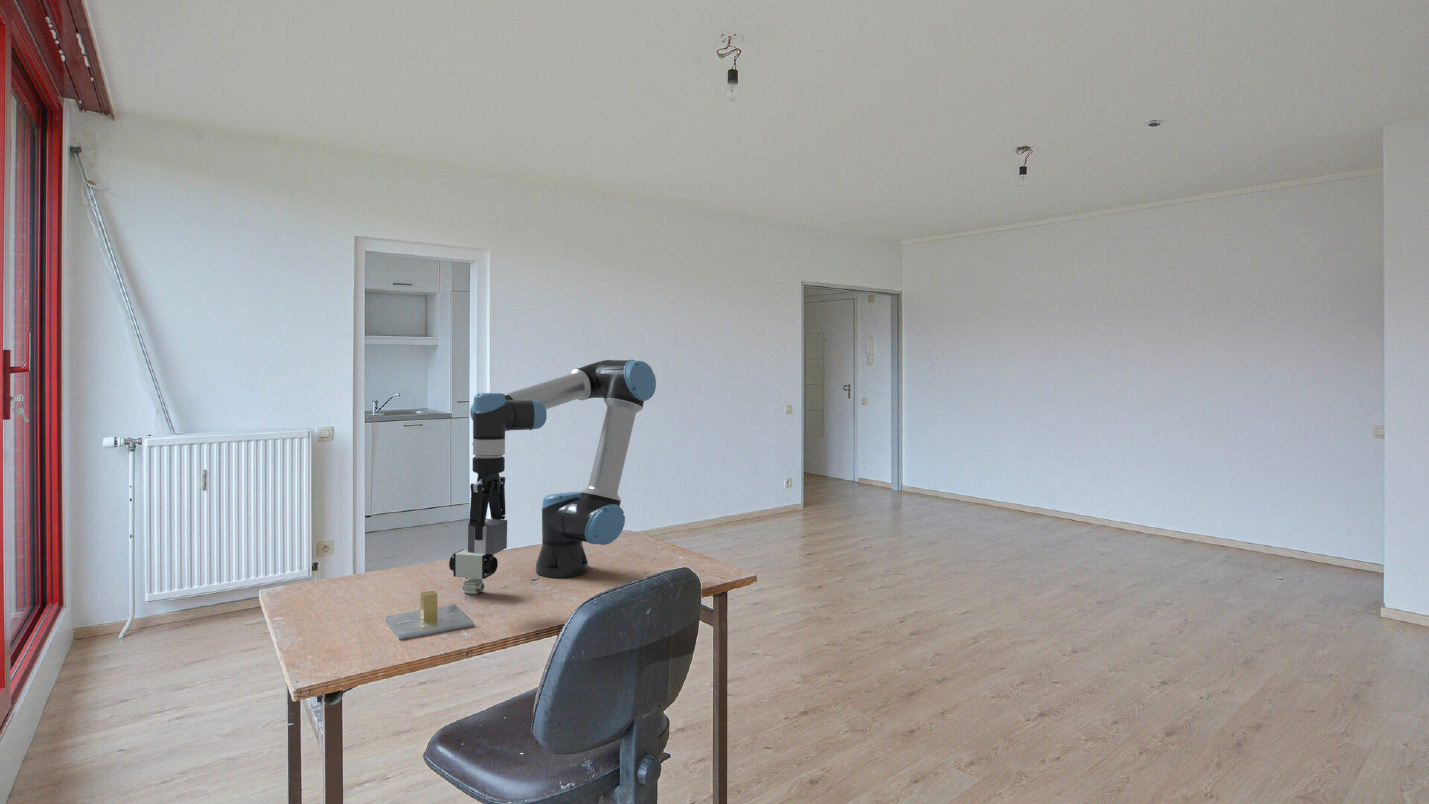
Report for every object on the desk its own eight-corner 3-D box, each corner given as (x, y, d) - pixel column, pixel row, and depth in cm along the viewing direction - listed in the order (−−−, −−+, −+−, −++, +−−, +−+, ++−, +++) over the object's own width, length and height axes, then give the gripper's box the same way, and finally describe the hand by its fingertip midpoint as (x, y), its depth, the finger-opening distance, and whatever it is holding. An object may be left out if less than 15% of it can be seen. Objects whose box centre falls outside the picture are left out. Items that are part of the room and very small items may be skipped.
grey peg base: (455, 609, 180) (455, 580, 180) (472, 626, 169) (472, 595, 168) (385, 621, 171) (385, 590, 171) (399, 639, 160) (399, 607, 159)
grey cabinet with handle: (481, 546, 183) (481, 516, 182) (506, 547, 182) (507, 517, 181) (467, 552, 176) (468, 521, 176) (494, 554, 175) (494, 522, 175)
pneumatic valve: (489, 597, 190) (489, 551, 189) (448, 593, 192) (448, 548, 192) (499, 591, 195) (499, 546, 195) (459, 587, 198) (459, 544, 197)
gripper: (493, 451, 188) (492, 539, 189) (453, 459, 169) (452, 558, 170) (520, 452, 187) (519, 541, 188) (483, 461, 168) (482, 560, 168)
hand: (487, 549), depth 179 cm, fingers closed on grey cabinet with handle, 7 cm apart
